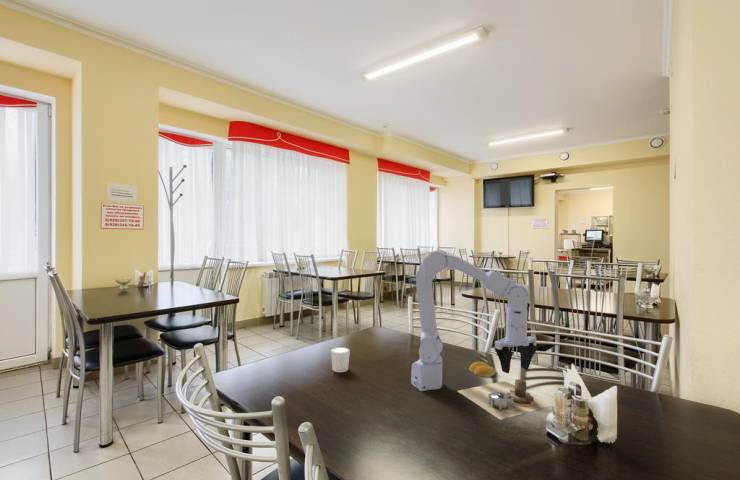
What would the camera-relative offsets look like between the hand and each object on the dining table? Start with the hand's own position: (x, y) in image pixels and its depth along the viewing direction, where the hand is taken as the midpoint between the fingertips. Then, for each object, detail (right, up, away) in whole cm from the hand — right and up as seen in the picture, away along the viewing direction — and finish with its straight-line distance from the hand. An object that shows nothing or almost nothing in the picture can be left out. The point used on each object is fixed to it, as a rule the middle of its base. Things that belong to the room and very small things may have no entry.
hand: (515, 370), depth 104 cm
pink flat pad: (+1, -8, -1) cm, 9 cm away
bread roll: (-3, -9, +20) cm, 22 cm away
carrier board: (-3, -9, 0) cm, 10 cm away
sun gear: (-6, -8, -4) cm, 11 cm away
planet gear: (+1, -8, -1) cm, 8 cm away
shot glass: (-54, -8, +23) cm, 59 cm away
